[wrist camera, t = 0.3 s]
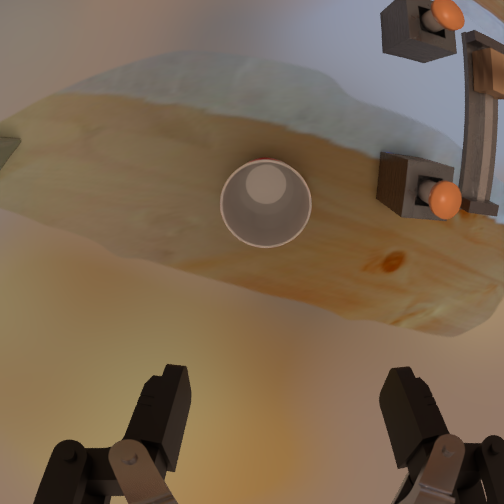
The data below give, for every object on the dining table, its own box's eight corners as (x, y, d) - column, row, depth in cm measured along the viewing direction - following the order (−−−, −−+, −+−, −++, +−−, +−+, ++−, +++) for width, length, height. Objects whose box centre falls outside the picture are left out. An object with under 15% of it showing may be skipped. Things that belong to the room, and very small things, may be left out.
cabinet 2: (380, 151, 33) (408, 159, 26) (423, 158, 33) (456, 168, 26) (376, 198, 36) (401, 217, 28) (418, 202, 36) (448, 221, 28)
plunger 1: (414, 4, 19) (432, -8, 16) (442, 14, 19) (461, 4, 15) (417, 32, 21) (436, 22, 17) (445, 41, 21) (466, 34, 17)
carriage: (471, 51, 25) (490, 47, 21) (493, 61, 25) (511, 59, 21) (473, 90, 28) (493, 89, 23) (495, 99, 27) (514, 99, 23)
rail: (461, 33, 25) (474, 28, 22) (490, 46, 25) (503, 43, 22) (455, 206, 35) (468, 213, 32) (483, 210, 35) (496, 217, 32)
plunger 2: (415, 172, 27) (435, 179, 23) (442, 176, 27) (464, 184, 23) (411, 205, 28) (429, 217, 24) (438, 208, 28) (457, 220, 24)
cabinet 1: (380, 12, 26) (404, -9, 19) (423, 25, 26) (454, 9, 18) (382, 52, 28) (409, 38, 21) (426, 63, 28) (459, 54, 21)
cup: (311, 170, 35) (327, 186, 26) (280, 227, 38) (284, 261, 29) (250, 139, 34) (244, 143, 25) (220, 199, 37) (205, 224, 28)
